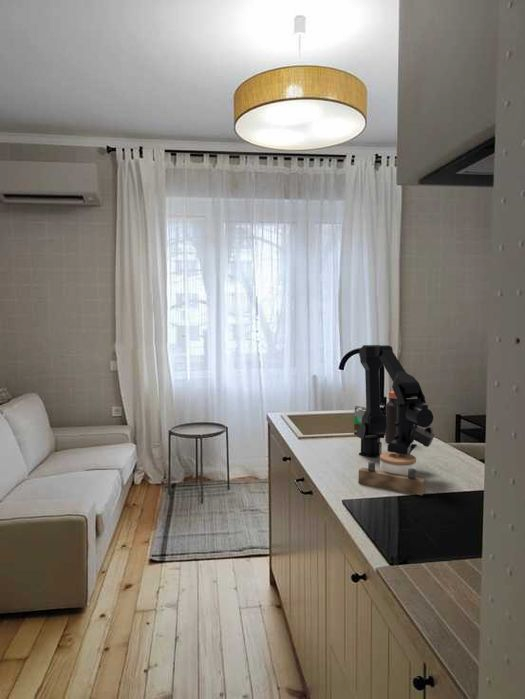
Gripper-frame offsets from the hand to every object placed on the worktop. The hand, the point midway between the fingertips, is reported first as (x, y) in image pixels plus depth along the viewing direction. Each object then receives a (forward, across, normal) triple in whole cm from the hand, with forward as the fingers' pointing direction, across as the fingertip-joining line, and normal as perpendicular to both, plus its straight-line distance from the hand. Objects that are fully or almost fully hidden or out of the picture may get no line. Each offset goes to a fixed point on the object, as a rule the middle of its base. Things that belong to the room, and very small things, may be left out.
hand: (405, 467), depth 161 cm
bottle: (+4, +35, +14) cm, 38 cm away
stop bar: (+2, -15, 0) cm, 15 cm away
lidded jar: (+2, -8, 0) cm, 9 cm away
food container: (+4, +45, +31) cm, 55 cm away
